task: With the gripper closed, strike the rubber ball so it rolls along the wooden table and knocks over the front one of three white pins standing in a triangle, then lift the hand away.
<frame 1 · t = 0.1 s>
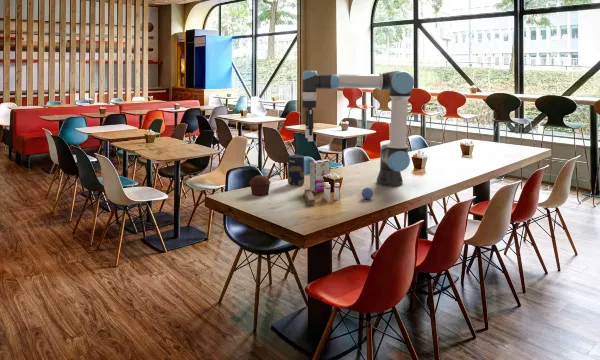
hand: (309, 139, 285), 28 cm above the table, tool pointing down, fingers open, 13 cm apart
ball: (367, 193, 270), on the table
pin 2: (327, 200, 266), on the table
front pin: (336, 199, 269), on the table
pin 1: (326, 198, 271), on the table
back wall: (309, 199, 268), on the table
candy bar box: (319, 190, 290), on the table
muffin: (260, 194, 280), on the table
canister: (296, 185, 303), on the table
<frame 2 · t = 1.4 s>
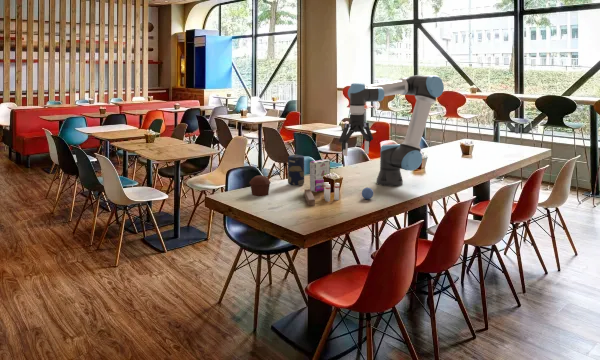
hand: (356, 154, 274), 22 cm above the table, tool pointing down, fingers open, 13 cm apart
nothing on the table moved.
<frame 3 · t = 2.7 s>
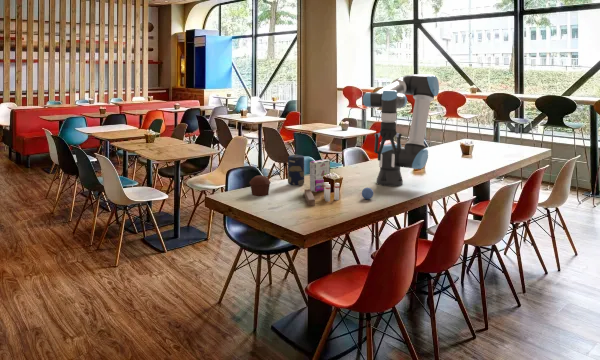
hand: (386, 166, 268), 17 cm above the table, tool pointing down, fingers open, 6 cm apart
nothing on the table moved.
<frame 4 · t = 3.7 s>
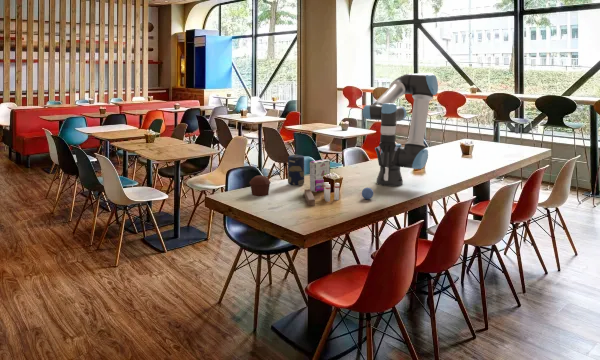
hand: (385, 180, 269), 10 cm above the table, tool pointing down, fingers closed
nothing on the table moved.
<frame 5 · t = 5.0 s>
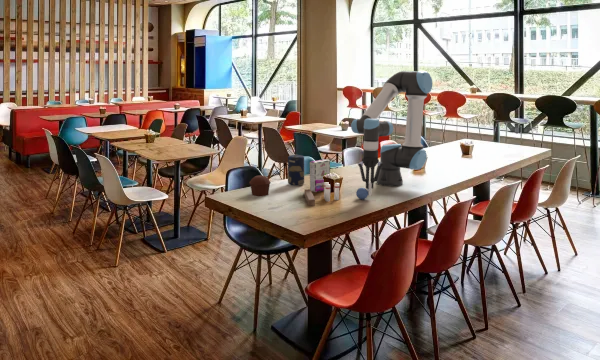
hand: (369, 194, 270), 2 cm above the table, tool pointing down, fingers closed
ball: (362, 193, 270), on the table, touching gripper
everything else where it was.
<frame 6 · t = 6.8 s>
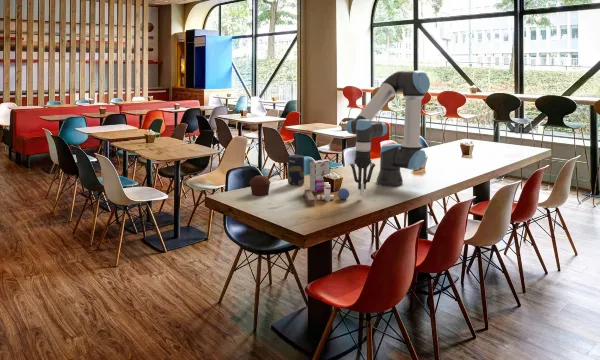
hand: (361, 195, 270), 2 cm above the table, tool pointing down, fingers closed
ball: (343, 193, 269), on the table
front pin: (333, 197, 269), point 1 cm above the table, tilted 90°
everything else where it was.
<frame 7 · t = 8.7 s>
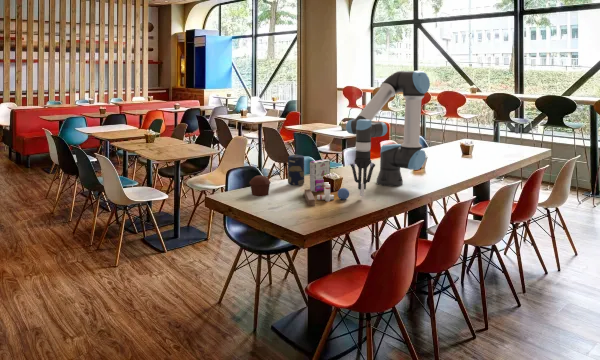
hand: (361, 195, 270), 2 cm above the table, tool pointing down, fingers closed
nothing on the table moved.
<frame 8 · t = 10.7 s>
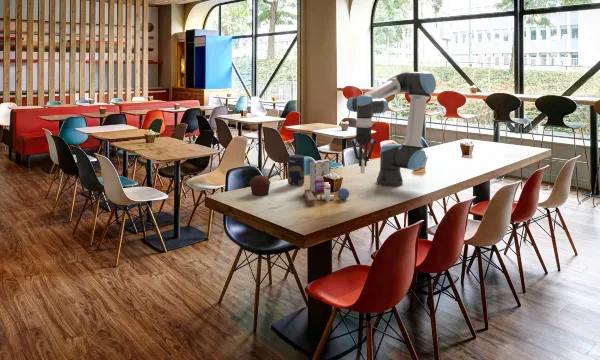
hand: (362, 172, 268), 14 cm above the table, tool pointing down, fingers closed
nothing on the table moved.
at the end: front pin tilted 90°; front pin never touched the robot; ball moved 12.6 cm from its start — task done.
